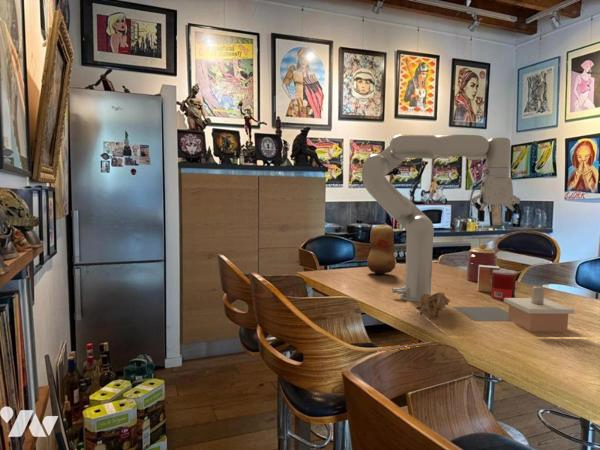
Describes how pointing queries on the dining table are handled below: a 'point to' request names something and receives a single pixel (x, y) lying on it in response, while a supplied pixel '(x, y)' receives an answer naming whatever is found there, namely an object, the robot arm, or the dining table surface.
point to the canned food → (503, 284)
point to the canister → (479, 261)
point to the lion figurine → (433, 303)
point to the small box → (485, 277)
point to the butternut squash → (381, 250)
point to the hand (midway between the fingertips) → (494, 221)
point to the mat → (484, 313)
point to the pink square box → (538, 320)
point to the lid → (538, 303)
